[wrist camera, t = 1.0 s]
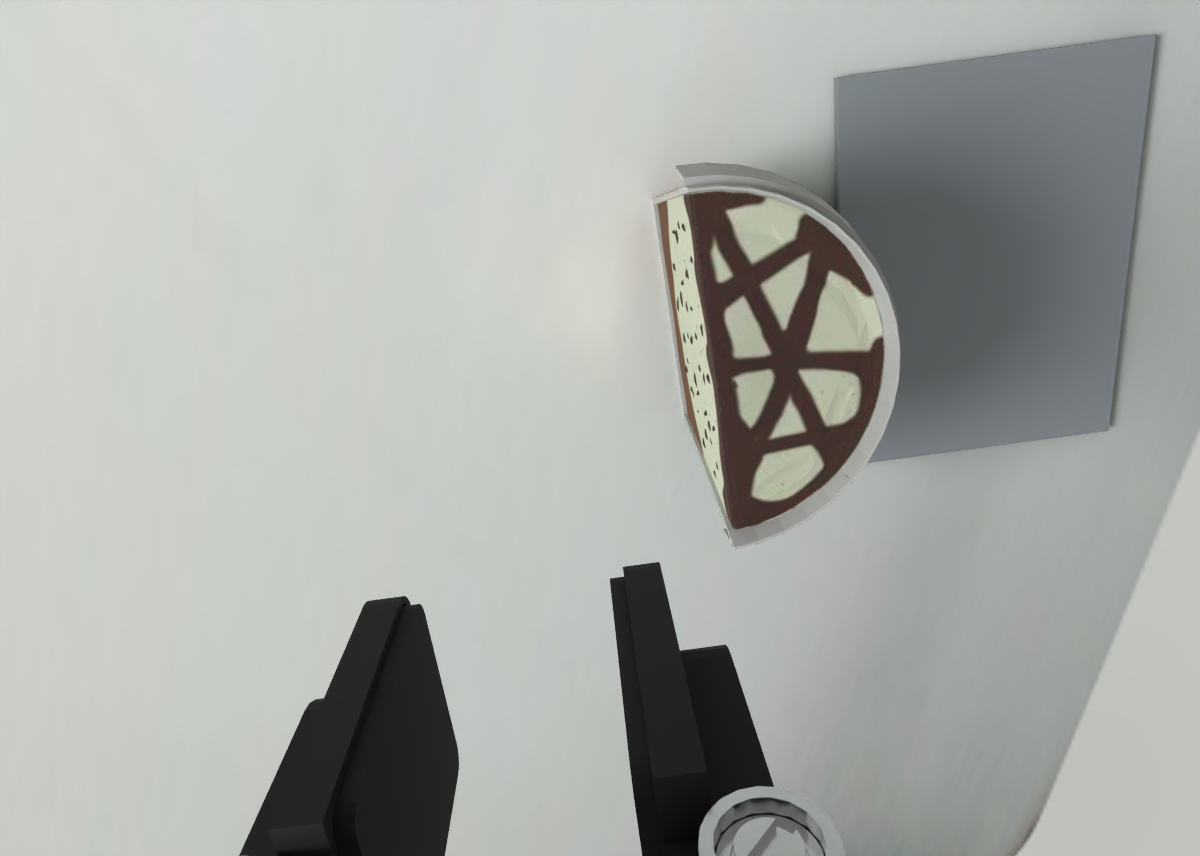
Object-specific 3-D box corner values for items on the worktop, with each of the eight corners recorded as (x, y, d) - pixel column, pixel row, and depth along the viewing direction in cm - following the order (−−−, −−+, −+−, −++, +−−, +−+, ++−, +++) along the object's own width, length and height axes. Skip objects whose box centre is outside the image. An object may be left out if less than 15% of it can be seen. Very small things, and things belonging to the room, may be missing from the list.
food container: (825, 423, 34) (924, 530, 25) (688, 447, 34) (736, 564, 25) (803, 130, 30) (914, 125, 20) (646, 159, 30) (685, 168, 20)
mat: (834, 78, 29) (837, 77, 29) (1148, 36, 29) (1155, 34, 29) (840, 462, 35) (843, 466, 34) (1102, 427, 35) (1108, 430, 34)
